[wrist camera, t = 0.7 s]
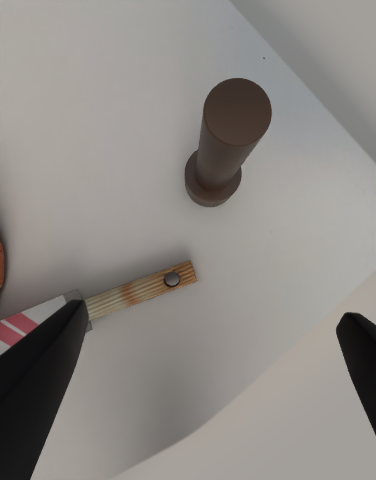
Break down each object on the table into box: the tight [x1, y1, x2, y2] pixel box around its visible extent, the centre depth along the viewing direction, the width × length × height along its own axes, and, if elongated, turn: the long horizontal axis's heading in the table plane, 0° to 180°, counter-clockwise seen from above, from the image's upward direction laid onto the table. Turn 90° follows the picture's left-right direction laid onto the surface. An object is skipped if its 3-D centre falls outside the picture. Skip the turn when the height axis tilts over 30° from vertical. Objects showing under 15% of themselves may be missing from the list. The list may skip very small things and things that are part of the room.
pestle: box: [185, 78, 272, 207], centre depth 16 cm, size 4×4×12 cm
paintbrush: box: [0, 261, 197, 355], centre depth 20 cm, size 4×3×20 cm
